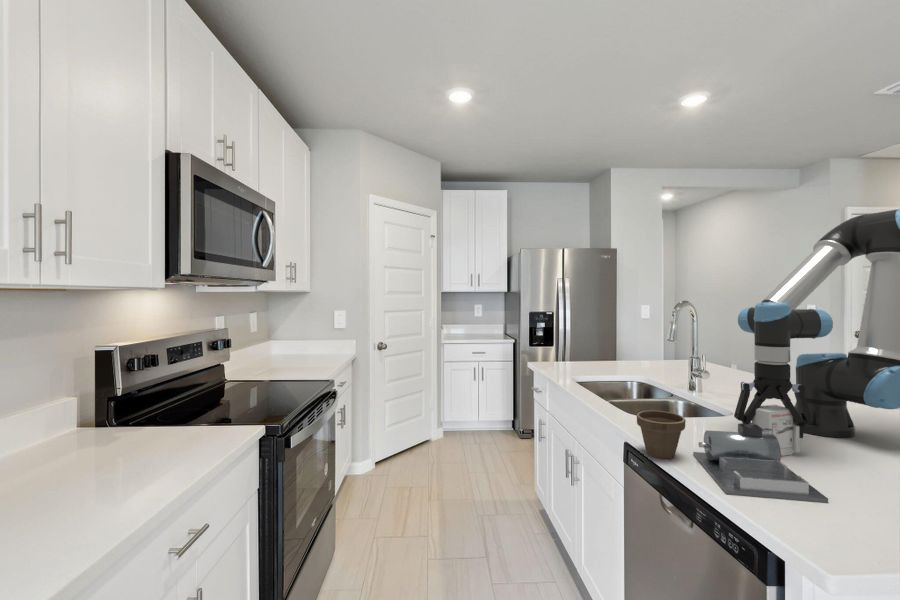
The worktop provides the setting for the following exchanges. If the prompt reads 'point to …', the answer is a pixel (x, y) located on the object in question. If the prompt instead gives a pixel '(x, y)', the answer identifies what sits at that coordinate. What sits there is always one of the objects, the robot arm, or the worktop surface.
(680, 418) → the flower pot
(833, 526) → the worktop surface
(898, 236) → the robot arm
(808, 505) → the worktop surface
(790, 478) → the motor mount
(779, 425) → the ink box
